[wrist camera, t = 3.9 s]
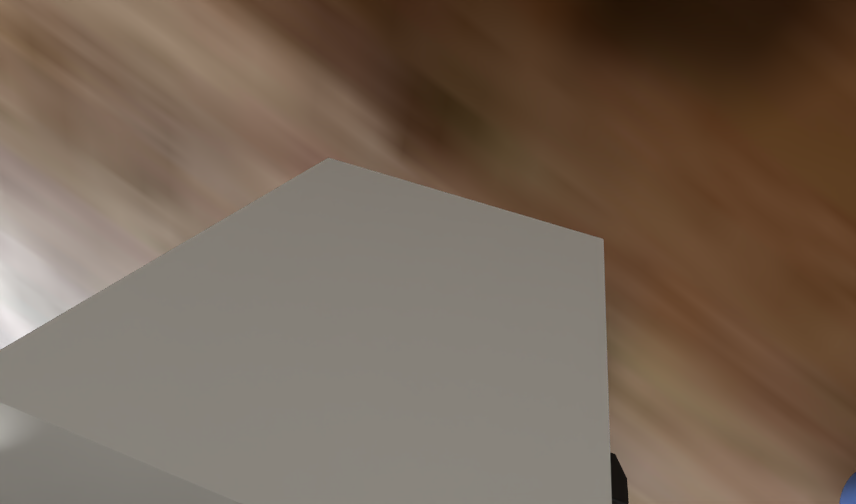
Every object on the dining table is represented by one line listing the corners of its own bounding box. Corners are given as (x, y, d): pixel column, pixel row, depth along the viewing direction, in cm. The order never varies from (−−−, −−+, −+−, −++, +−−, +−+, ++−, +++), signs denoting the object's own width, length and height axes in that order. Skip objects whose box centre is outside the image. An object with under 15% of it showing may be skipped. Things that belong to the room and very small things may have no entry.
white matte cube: (328, 157, 13) (-52, 380, 5) (603, 239, 12) (617, 661, 4) (305, 367, 16) (45, 694, 9) (520, 446, 15) (443, 900, 8)
